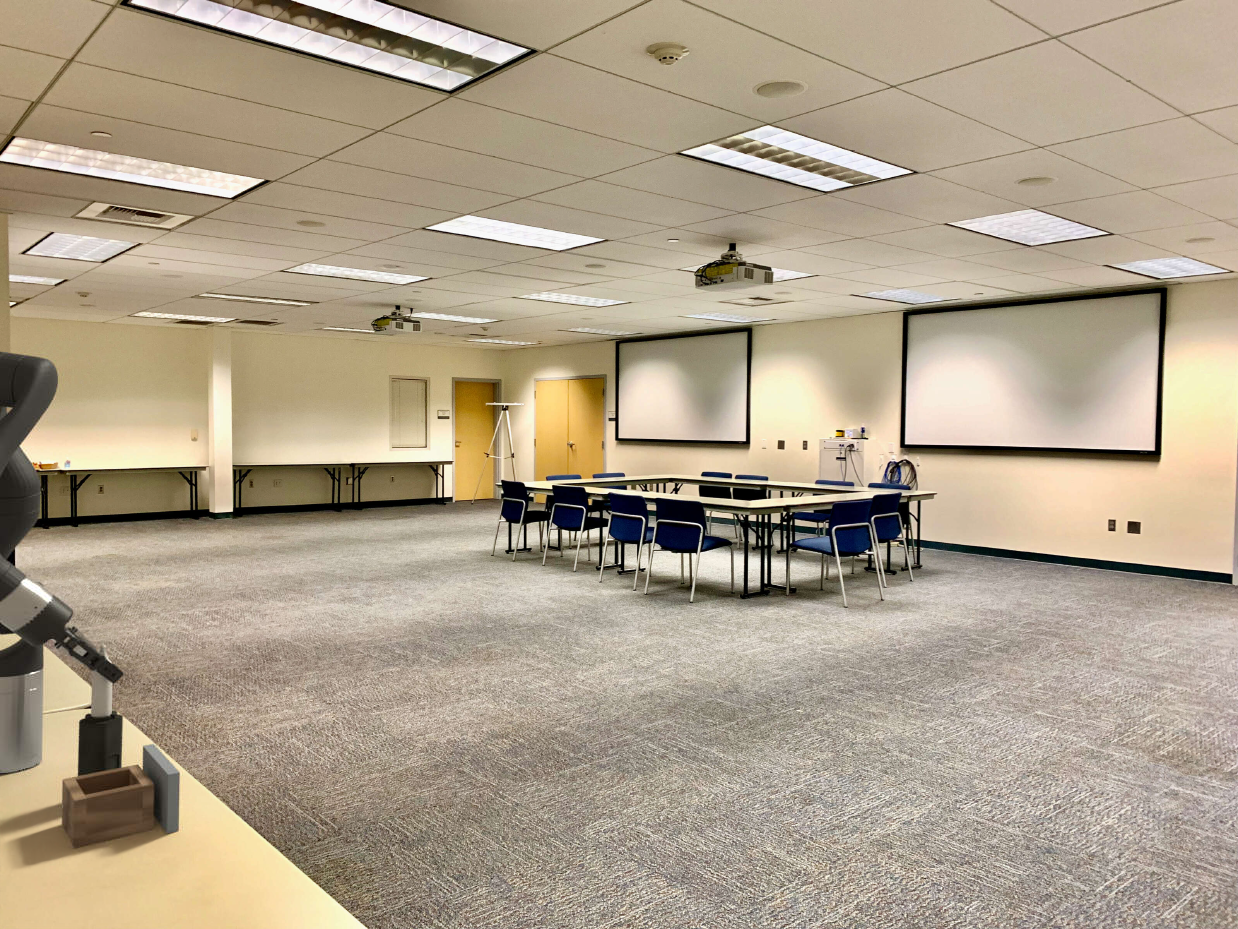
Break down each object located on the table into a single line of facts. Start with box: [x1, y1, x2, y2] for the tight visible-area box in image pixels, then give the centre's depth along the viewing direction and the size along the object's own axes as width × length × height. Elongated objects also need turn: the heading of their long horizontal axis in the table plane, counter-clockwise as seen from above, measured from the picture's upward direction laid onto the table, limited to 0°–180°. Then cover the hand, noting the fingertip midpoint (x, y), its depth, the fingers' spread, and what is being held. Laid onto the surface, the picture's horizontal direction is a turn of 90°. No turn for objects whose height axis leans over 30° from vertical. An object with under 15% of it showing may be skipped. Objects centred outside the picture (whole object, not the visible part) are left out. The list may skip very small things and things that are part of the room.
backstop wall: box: [142, 743, 181, 834], centre depth 137 cm, size 16×2×9 cm, turn 41°
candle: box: [77, 644, 124, 776], centre depth 142 cm, size 5×5×25 cm
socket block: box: [61, 764, 154, 849], centre depth 132 cm, size 10×10×7 cm
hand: (116, 675), depth 143 cm, fingers closed on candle, 3 cm apart
